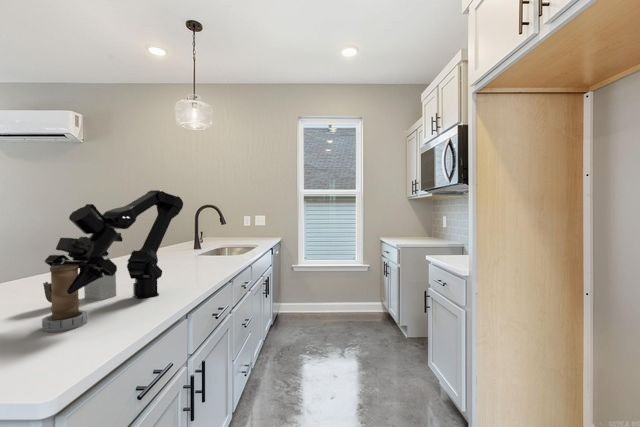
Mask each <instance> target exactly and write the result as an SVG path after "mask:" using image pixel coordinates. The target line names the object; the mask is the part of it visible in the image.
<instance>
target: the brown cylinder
mask: <svg viewBox="0 0 640 427" xmlns="http://www.w3.org/2000/svg"><path fill="white" fill-rule="evenodd" d="M79 270H80V268H79V265H77V264H69V265H59V266H53V267H51V266H50V267H49V272H50V280H51V281H50V283H51V292H52V303H51V315H52V319H53V320H65V319H69V318H73V317H76V316H78V315H79V310H80V309H79V308H80V307H79V306H80V305H79V304H80V302H79V300H80V299H79V290H77V291H76V292H74V293H72V294H69V293H67V291H68V289H69V287H70V286H71V284H72V283H73V281H74V280H75V278H76V277H77V276H78V274H79Z"/></svg>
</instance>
